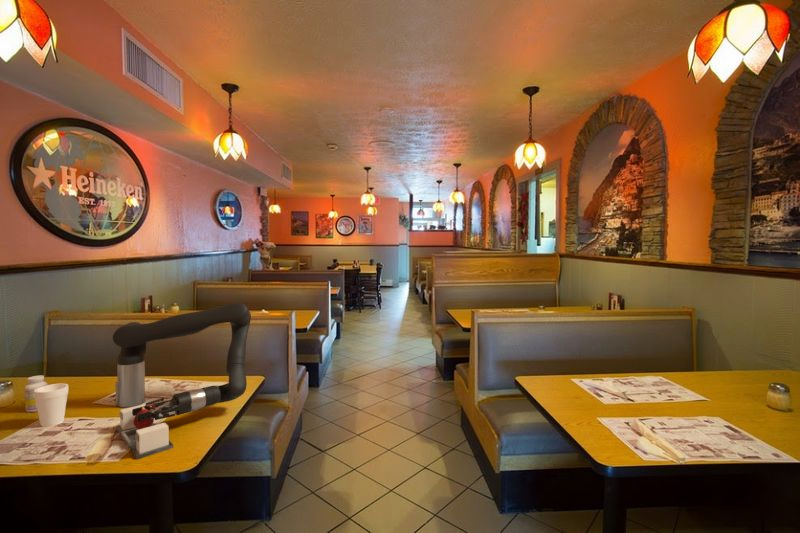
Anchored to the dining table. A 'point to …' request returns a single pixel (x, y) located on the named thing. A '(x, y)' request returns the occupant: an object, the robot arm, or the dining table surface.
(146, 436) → the mounted modules
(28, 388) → the supplement bottle
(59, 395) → the foam cup
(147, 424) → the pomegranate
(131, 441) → the mounting plate
